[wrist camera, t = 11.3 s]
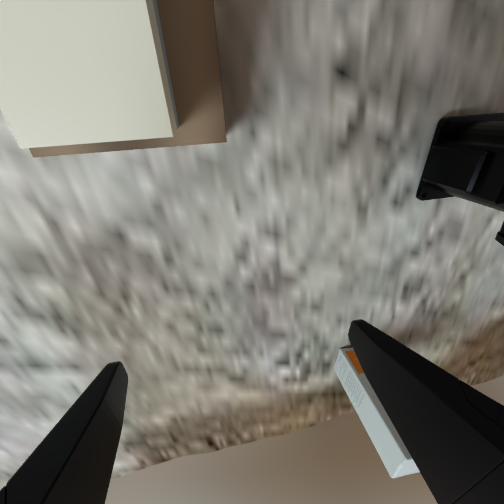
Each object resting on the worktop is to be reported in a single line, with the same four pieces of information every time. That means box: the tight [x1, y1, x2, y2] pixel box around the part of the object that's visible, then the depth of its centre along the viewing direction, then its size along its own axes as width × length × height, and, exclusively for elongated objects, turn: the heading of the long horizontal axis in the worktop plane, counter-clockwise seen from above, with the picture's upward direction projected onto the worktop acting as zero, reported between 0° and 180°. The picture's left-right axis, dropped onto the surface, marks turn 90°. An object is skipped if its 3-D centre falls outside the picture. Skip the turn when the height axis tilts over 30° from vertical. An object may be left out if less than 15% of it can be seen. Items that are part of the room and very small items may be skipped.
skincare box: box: [334, 347, 420, 478], centre depth 28 cm, size 6×4×12 cm
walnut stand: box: [29, 0, 227, 157], centre depth 12 cm, size 10×10×3 cm
